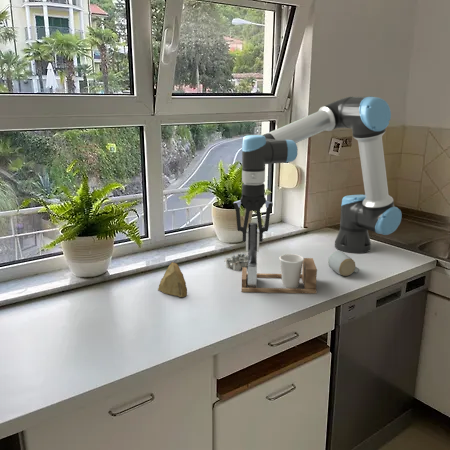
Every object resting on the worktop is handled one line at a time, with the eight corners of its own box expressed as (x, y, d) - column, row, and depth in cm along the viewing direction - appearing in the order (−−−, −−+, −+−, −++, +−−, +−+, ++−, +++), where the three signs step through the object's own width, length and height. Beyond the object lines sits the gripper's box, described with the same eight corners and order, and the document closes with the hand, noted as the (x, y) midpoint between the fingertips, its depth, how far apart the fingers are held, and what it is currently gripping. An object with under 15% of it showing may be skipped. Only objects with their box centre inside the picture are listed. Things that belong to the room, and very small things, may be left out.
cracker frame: (311, 277, 168) (312, 256, 166) (316, 293, 155) (317, 271, 152) (242, 276, 169) (242, 255, 167) (241, 291, 156) (241, 269, 154)
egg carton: (236, 272, 174) (236, 262, 173) (222, 267, 179) (222, 257, 178) (255, 264, 181) (255, 254, 180) (241, 260, 186) (241, 250, 185)
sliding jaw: (256, 277, 167) (257, 219, 161) (256, 289, 158) (257, 227, 152) (247, 277, 167) (248, 219, 161) (247, 288, 158) (248, 227, 152)
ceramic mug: (339, 278, 167) (341, 258, 165) (326, 270, 174) (328, 251, 172) (363, 275, 171) (365, 255, 169) (350, 267, 178) (352, 248, 176)
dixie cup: (285, 291, 156) (286, 263, 154) (274, 282, 164) (275, 255, 161) (307, 287, 160) (308, 260, 157) (294, 278, 167) (296, 252, 164)
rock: (196, 290, 152) (188, 275, 161) (181, 273, 148) (173, 259, 156) (170, 310, 152) (163, 295, 161) (154, 295, 148) (148, 280, 156)
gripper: (228, 185, 149) (228, 253, 156) (278, 185, 149) (276, 254, 155) (229, 180, 157) (229, 246, 163) (277, 181, 156) (275, 247, 162)
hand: (252, 250), depth 159 cm, fingers closed on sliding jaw, 3 cm apart
